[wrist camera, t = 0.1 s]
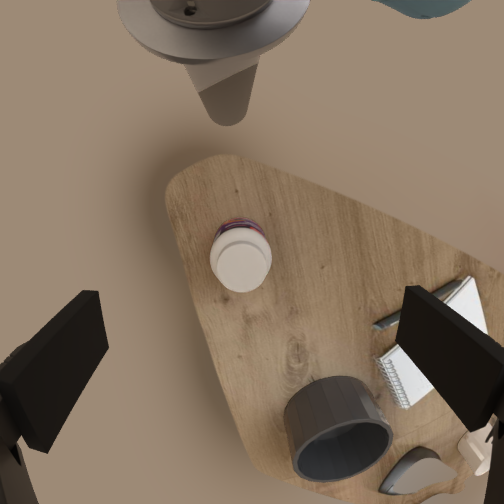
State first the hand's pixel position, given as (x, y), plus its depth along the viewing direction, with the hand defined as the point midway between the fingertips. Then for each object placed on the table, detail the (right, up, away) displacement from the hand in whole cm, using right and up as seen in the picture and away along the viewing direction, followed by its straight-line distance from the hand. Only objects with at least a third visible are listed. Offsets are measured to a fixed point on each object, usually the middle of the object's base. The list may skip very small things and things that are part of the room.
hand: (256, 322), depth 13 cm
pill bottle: (-1, +4, +22) cm, 22 cm away
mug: (+48, -37, +35) cm, 70 cm away
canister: (+11, -20, +29) cm, 37 cm away
